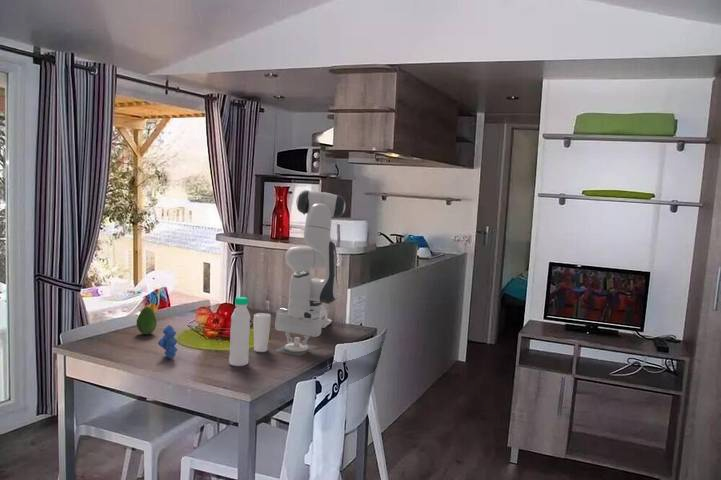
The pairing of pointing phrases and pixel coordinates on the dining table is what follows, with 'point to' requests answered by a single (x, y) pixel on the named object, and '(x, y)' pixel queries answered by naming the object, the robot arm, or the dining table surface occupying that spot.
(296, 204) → the robot arm
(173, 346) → the grapes
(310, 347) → the mat
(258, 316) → the drinking glass
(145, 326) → the avocado
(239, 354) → the water bottle
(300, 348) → the lid
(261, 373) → the dining table surface
